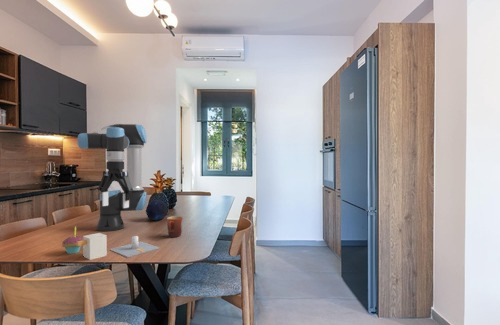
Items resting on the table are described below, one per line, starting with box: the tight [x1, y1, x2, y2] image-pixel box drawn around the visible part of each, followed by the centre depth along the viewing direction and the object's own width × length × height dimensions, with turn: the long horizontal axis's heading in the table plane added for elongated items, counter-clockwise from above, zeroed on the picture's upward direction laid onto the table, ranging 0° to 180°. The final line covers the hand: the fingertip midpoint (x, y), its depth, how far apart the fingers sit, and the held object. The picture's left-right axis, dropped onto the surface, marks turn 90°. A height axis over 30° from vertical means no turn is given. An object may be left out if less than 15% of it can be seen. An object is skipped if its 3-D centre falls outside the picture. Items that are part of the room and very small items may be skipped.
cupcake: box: [61, 225, 83, 255], centre depth 131 cm, size 9×8×12 cm
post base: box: [109, 235, 160, 258], centre depth 135 cm, size 16×16×6 cm
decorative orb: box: [145, 199, 168, 222], centre depth 200 cm, size 14×15×15 cm
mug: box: [166, 215, 184, 238], centre depth 157 cm, size 12×9×10 cm
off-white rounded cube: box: [77, 232, 108, 261], centre depth 124 cm, size 10×7×9 cm, turn 141°
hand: (115, 206), depth 131 cm, fingers open, 13 cm apart
